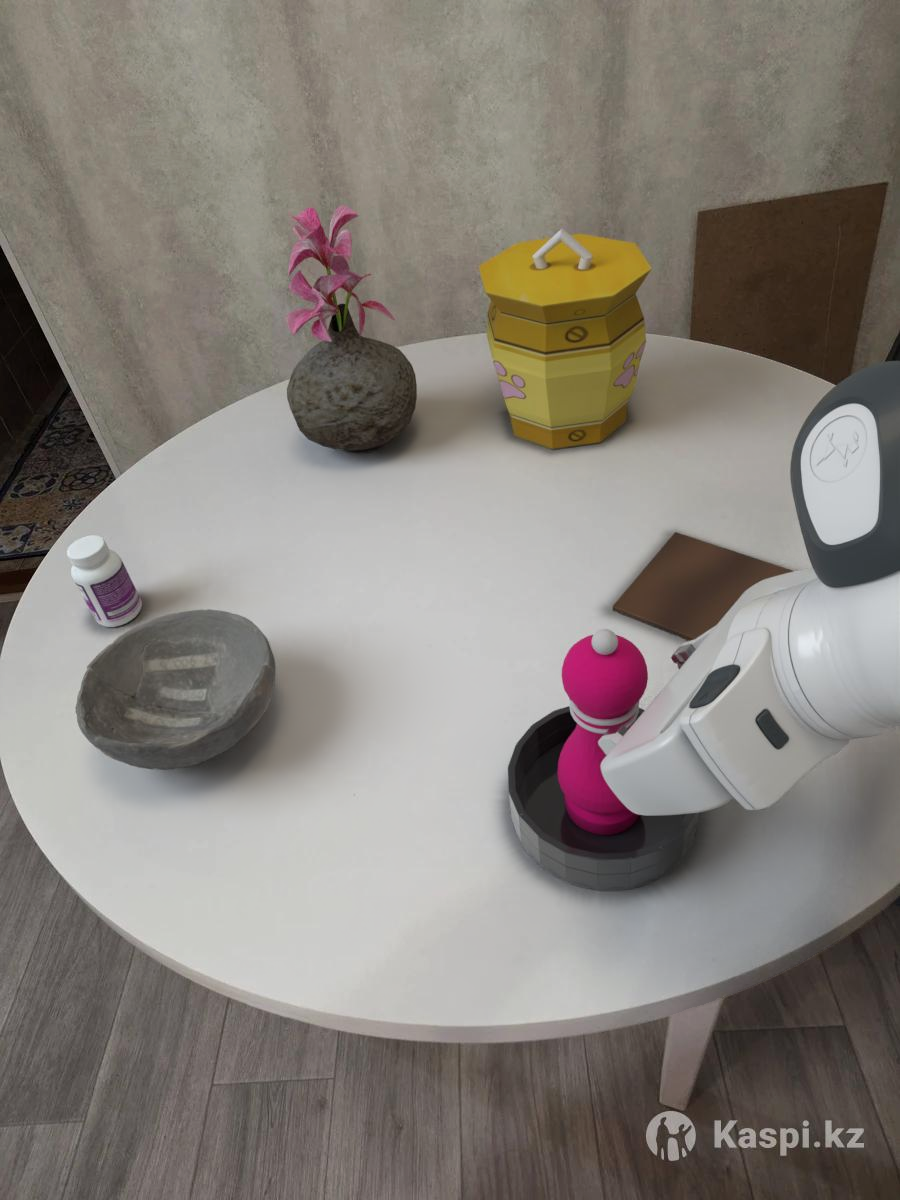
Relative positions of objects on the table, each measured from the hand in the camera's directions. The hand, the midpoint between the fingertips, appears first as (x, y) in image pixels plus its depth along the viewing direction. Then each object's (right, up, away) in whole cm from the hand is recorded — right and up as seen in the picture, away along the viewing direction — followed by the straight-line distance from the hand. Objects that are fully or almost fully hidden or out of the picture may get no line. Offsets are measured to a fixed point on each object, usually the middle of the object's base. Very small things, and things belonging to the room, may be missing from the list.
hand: (646, 700), depth 61 cm
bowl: (-38, -5, +23) cm, 45 cm away
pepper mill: (-1, -10, +11) cm, 15 cm away
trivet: (+13, +8, +28) cm, 32 cm away
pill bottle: (-51, +6, +37) cm, 63 cm away
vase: (-26, +29, +59) cm, 70 cm away
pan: (-1, -10, +11) cm, 15 cm away
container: (+2, +32, +57) cm, 65 cm away
